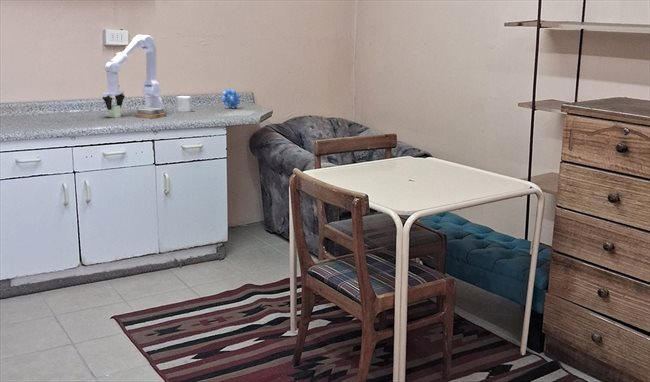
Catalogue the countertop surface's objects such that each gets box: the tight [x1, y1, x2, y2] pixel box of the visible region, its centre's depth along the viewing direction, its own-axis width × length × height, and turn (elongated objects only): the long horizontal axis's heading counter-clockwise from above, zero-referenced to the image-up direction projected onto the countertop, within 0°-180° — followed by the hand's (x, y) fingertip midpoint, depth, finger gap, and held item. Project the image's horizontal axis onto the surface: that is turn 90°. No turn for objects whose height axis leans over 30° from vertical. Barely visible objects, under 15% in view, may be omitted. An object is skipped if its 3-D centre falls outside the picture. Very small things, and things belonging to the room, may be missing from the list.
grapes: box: [221, 88, 241, 109], centre depth 438 cm, size 12×7×12 cm, turn 114°
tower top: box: [136, 107, 165, 115], centre depth 400 cm, size 10×10×2 cm
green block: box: [108, 104, 122, 118], centre depth 399 cm, size 4×4×6 cm
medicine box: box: [175, 95, 193, 113], centre depth 424 cm, size 8×4×9 cm, turn 84°
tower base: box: [134, 112, 167, 120], centre depth 401 cm, size 12×12×2 cm
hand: (114, 109), depth 399 cm, fingers open, 7 cm apart
